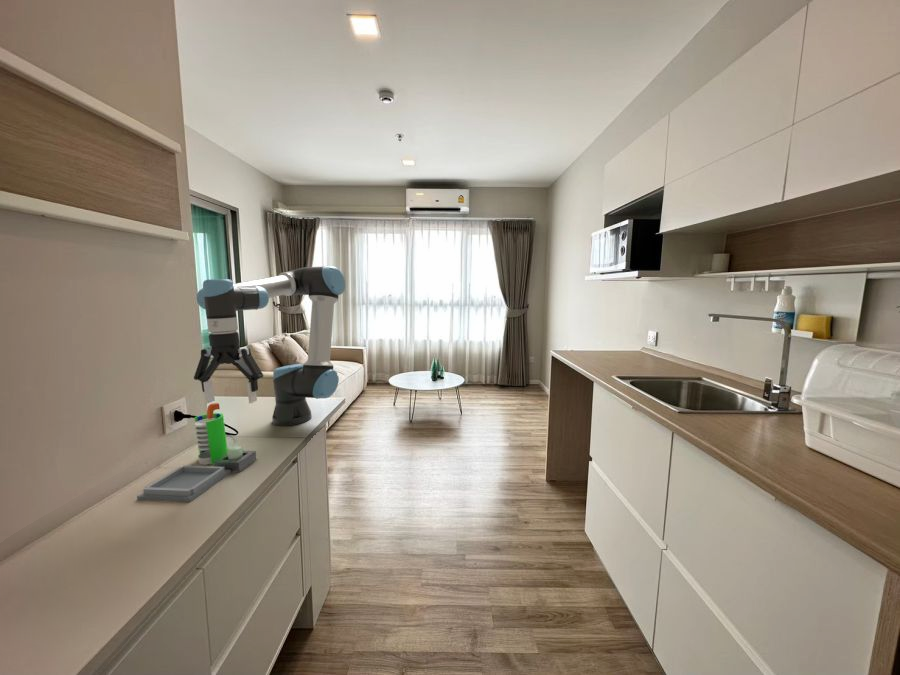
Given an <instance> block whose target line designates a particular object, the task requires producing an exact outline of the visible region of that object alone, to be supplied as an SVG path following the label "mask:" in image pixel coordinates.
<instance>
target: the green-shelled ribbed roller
mask: <svg viewBox="0 0 900 675" xmlns="http://www.w3.org/2000/svg"><path fill="white" fill-rule="evenodd" d="M220 409H221V408H220V403H218V402H213V403H212V402H211V403H210V404H208V406H207V408H206V410H207V411H206V413H205V414H201V415H198V416H195V417H194V426H195V432H196V433H195V435H196V440H197V442H196V443H197V450H198V452H199V454H198V456H197V457H198V464H199V465H202V466H206V465H212V466H213V465H214V462H215V461H216V460H218V459H220V458H221V457H223V456H224V455H226V454H227V449H228V444H227V442H228V441H227V435H226V426H225V420H224V414H223V413H222V412H221V413H220V412H214V411H217V410H220Z"/></svg>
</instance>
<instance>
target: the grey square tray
mask: <svg viewBox="0 0 900 675" xmlns="http://www.w3.org/2000/svg"><path fill="white" fill-rule="evenodd" d="M231 473H232V472H231V470H227V469H225V467H217V466H213V465H212V466H211V465H208V466H207V465H183V466H179V467H178V468H175V469H174V470H172V471H171V472H169V473H167V474H166V475H164V476H162V477H160V478H159V479H157V480H155V481H153V482H152V483H150V484H148V485H146V486H145V487H144V488H143V492H141V493H140V494H138V495H137V496H136V498H137V500H138V501H157V502H159V501H160V502H161V501H162V502H163V501H164V502H184V503H190V502H192V501H193V500H195V499H197V498H198V497H199V496H201V495H202V494H203V493H204V492H206V491H207V490H209V489H210V488H212V487H213V486H214V485H216V484H217V483H218V482H220V481H222V480H223V479H224V478H226V477H227V476H229V475H230V474H231Z"/></svg>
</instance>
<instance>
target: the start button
mask: <svg viewBox="0 0 900 675" xmlns="http://www.w3.org/2000/svg"><path fill="white" fill-rule="evenodd" d="M243 451H244V450H243V446H241V445H236V446H232V447H229V448H227V454H228V460H239V459H240V458H241V457H243Z"/></svg>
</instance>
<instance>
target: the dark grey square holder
mask: <svg viewBox="0 0 900 675" xmlns="http://www.w3.org/2000/svg"><path fill="white" fill-rule="evenodd" d="M242 451H243V457H241V458H240V459H239V460H228V454H226V455H224V456H223V457H221V458H220V459H218V460H216V461H215V462H214V464H213V465H214V466H217V467H225V469H227V470H231V473H241V472H242V471H243V470H245V469H247V468H248V467H249V466H250V465H252V464H253V463H254V462H256V461H257V452H256V450H242ZM255 460H256V461H255Z"/></svg>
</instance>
